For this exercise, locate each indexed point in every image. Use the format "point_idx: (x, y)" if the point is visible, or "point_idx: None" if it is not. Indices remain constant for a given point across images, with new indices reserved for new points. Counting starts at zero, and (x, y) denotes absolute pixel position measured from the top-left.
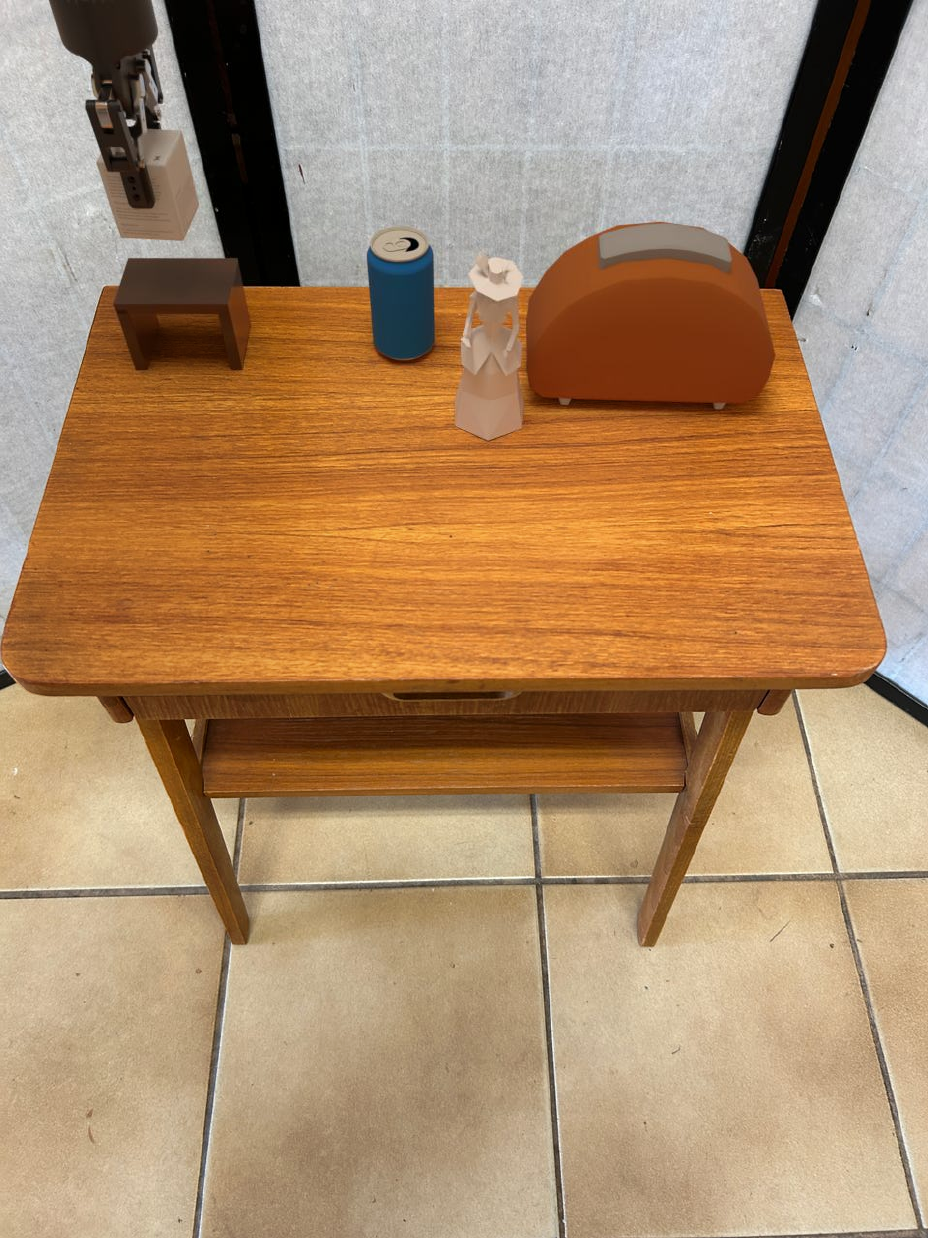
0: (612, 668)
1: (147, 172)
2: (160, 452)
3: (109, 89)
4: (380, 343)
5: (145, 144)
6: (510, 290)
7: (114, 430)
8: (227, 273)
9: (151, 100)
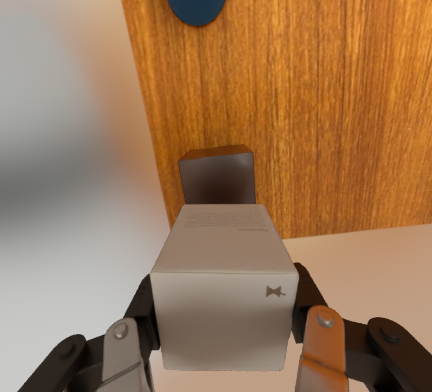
0: None
1: (296, 292)
2: (331, 180)
3: None
4: (219, 6)
5: (222, 320)
6: None
7: (308, 214)
8: (204, 164)
9: (144, 387)
